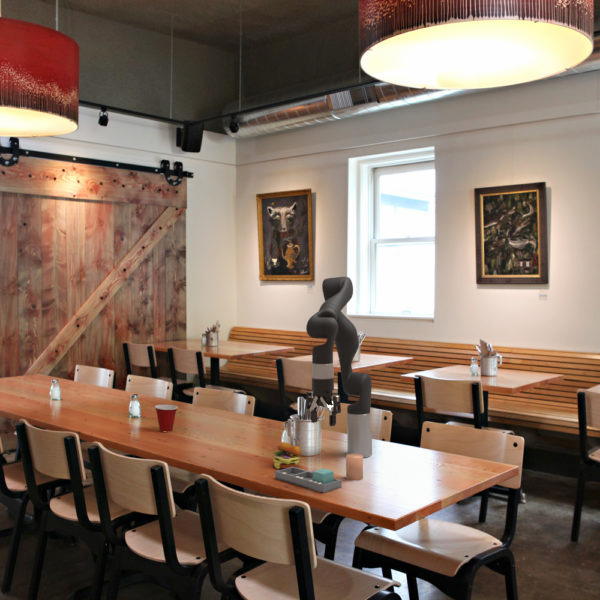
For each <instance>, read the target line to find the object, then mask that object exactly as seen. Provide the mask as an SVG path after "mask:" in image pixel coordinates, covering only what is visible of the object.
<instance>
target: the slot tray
mask: <svg viewBox="0 0 600 600" xmlns="http://www.w3.org/2000/svg"><path fill="white" fill-rule="evenodd" d="M274 475H275V476H274V478H275V480H279V481H283V482H286V483H288V484H292V485H296V486H298V487H299V486H300V487H303V488H305V489H309V490H312V491H315V492H319V493H321V492H323V493H322V494H325V492H326V493H329V492H332V491H335V489H336V490H339V489H341V488H342V484H343V481H342V479H338V478H335V477H334V482H330V483H327V484H322V483H318V482H317V481H313V471H310V470H306V469H303V468H300V467H290V468H281V469H280V470H279V469H277V470H275V472H274ZM338 488H339V489H338Z"/></svg>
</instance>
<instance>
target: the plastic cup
mask: <svg viewBox="0 0 600 600" xmlns="http://www.w3.org/2000/svg"><path fill="white" fill-rule="evenodd" d="M154 408H155V411H156V417H157V422H158V426H159V431H171V430H172V431H174V424H175V418H176V417H175V416H176V412H177V410H178V409H179V407H178V405H174V404H157V405H155V406H154ZM172 431H171V432H172Z"/></svg>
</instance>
